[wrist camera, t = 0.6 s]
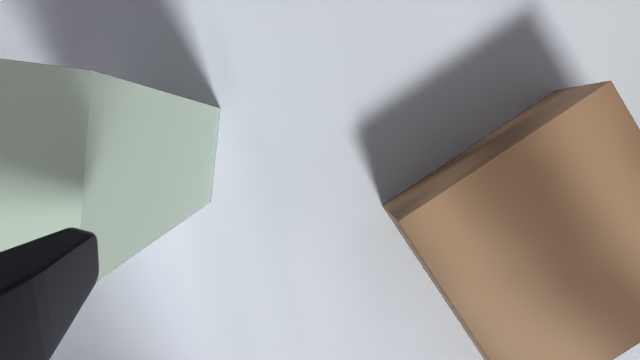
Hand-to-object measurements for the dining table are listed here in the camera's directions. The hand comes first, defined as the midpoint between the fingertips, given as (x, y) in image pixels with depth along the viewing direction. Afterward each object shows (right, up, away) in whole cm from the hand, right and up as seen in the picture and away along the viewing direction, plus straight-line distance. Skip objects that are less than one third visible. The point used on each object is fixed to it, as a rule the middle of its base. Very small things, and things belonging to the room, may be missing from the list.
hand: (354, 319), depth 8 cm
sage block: (-8, +4, +14) cm, 17 cm away
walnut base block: (+9, 0, +15) cm, 18 cm away
